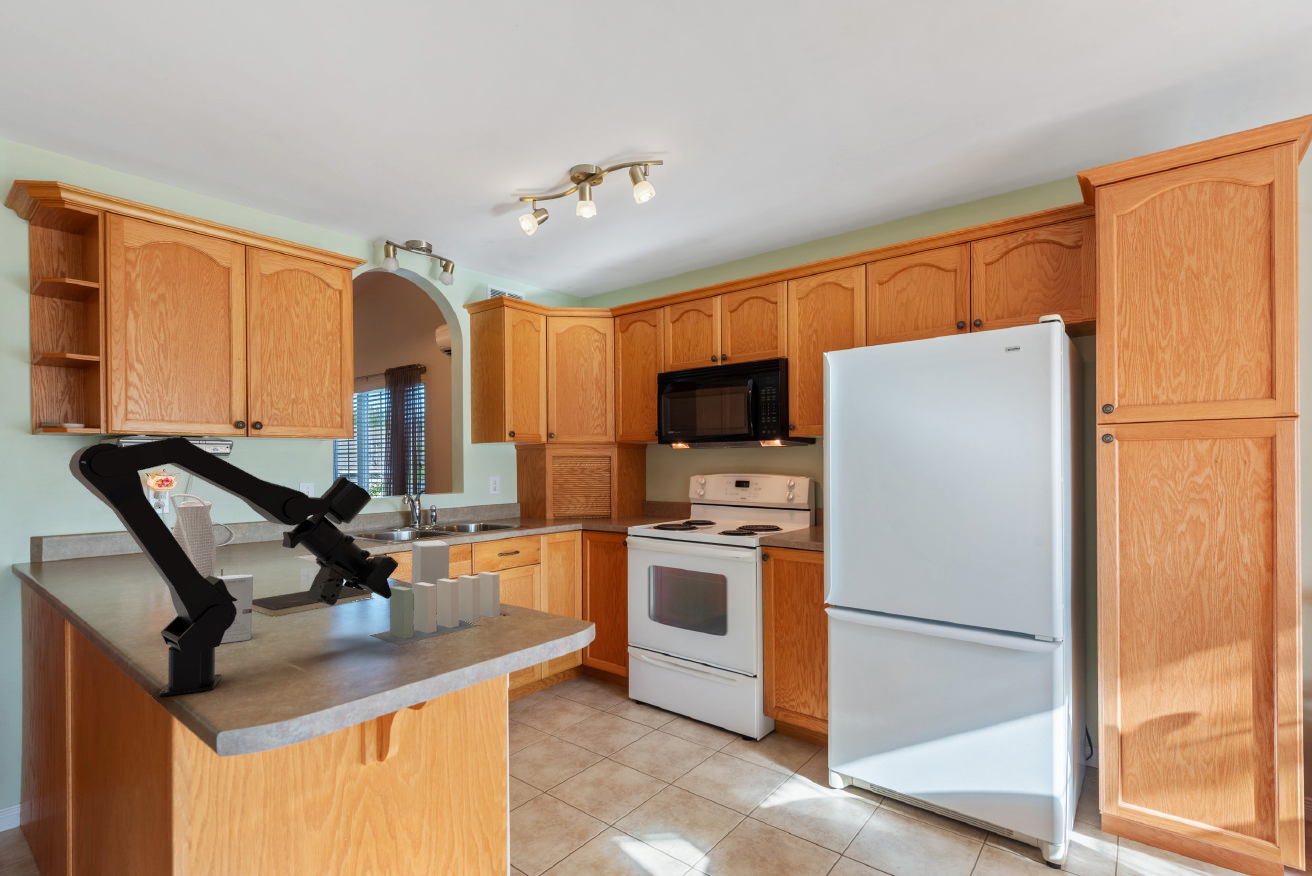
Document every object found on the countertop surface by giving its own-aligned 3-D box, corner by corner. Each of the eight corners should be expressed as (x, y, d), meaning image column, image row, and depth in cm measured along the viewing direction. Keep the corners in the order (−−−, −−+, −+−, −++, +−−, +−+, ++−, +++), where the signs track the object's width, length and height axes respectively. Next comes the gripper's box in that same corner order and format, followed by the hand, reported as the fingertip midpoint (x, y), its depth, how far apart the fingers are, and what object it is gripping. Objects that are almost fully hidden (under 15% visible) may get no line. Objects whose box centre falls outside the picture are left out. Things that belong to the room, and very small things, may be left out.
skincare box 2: (410, 611, 146) (410, 541, 146) (440, 607, 149) (440, 539, 150) (419, 618, 139) (419, 545, 139) (450, 613, 142) (450, 542, 143)
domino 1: (403, 639, 120) (403, 590, 121) (390, 634, 124) (390, 587, 124) (412, 637, 122) (412, 588, 122) (398, 632, 125) (398, 586, 125)
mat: (399, 647, 117) (399, 644, 117) (369, 637, 124) (369, 635, 124) (514, 618, 137) (514, 616, 137) (483, 611, 144) (483, 610, 144)
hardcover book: (373, 600, 160) (373, 591, 160) (273, 619, 142) (273, 609, 142) (341, 593, 170) (341, 585, 170) (244, 610, 152) (244, 600, 152)
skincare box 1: (213, 645, 120) (214, 579, 120) (214, 639, 124) (214, 576, 124) (252, 639, 123) (253, 575, 124) (252, 634, 127) (252, 572, 128)
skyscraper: (186, 643, 122) (188, 494, 123) (156, 640, 124) (158, 494, 125) (229, 631, 130) (230, 492, 131) (200, 629, 132) (201, 492, 133)
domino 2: (428, 633, 124) (427, 586, 125) (414, 629, 128) (414, 583, 128) (436, 631, 126) (436, 584, 126) (422, 627, 129) (422, 582, 129)
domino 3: (450, 627, 128) (450, 582, 129) (436, 624, 131) (436, 579, 132) (458, 626, 130) (458, 580, 130) (444, 622, 133) (444, 578, 133)
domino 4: (472, 622, 132) (472, 578, 132) (458, 619, 135) (458, 576, 136) (479, 621, 133) (479, 577, 134) (465, 617, 137) (465, 574, 137)
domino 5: (492, 618, 136) (492, 575, 136) (478, 614, 139) (478, 572, 139) (499, 616, 137) (499, 573, 138) (485, 613, 141) (485, 571, 141)
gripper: (272, 576, 114) (335, 626, 122) (318, 588, 103) (385, 642, 111) (318, 527, 121) (375, 578, 129) (367, 533, 109) (427, 588, 117)
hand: (389, 596), depth 121 cm, fingers closed
